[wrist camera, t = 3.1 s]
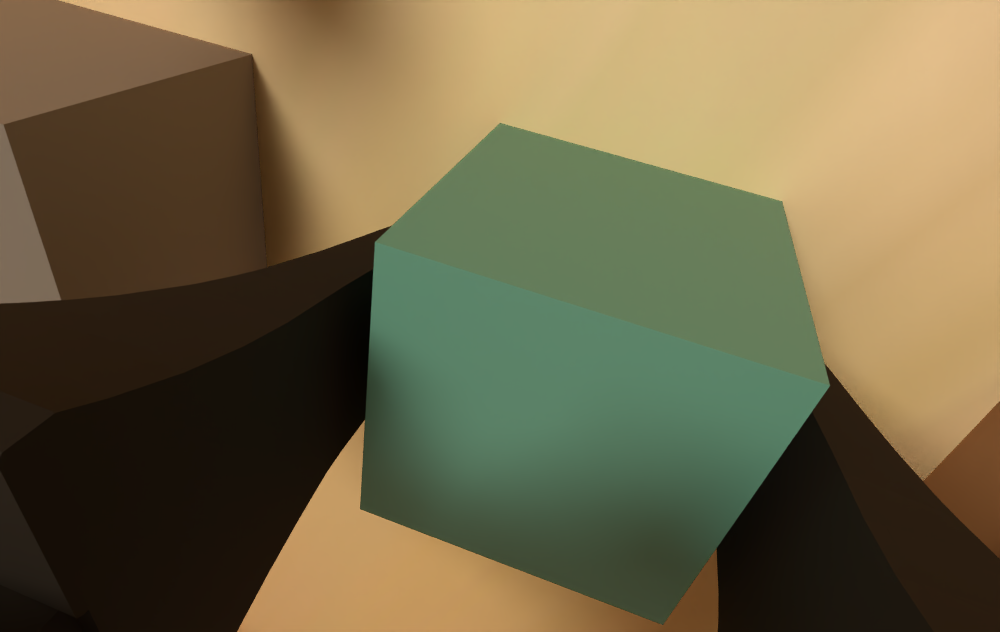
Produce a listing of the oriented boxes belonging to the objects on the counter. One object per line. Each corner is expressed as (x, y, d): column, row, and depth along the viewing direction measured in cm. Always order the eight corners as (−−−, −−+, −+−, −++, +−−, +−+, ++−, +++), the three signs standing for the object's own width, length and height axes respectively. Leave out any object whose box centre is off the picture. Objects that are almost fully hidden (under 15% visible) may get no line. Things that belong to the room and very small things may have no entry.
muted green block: (781, 199, 10) (830, 385, 6) (677, 407, 13) (662, 625, 9) (501, 121, 11) (375, 241, 7) (463, 336, 14) (359, 508, 10)
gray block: (254, 53, 11) (2, 124, 7) (269, 272, 14) (96, 408, 10) (35, -8, 12) (-306, 26, 8) (92, 213, 15) (-134, 319, 11)
